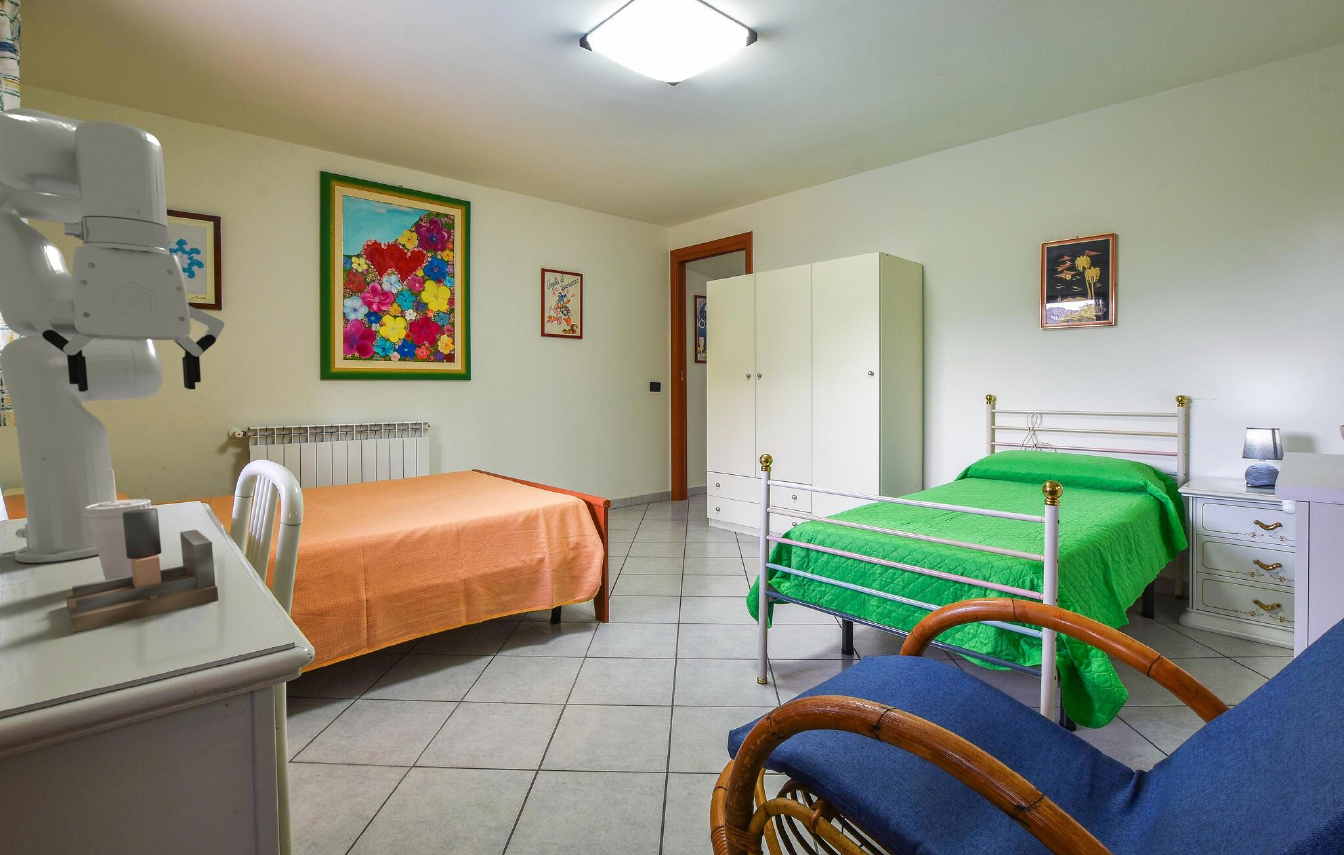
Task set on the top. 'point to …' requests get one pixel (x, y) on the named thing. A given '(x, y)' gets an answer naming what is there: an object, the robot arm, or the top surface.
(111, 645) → the top surface
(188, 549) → the vise base
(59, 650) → the top surface
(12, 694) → the top surface
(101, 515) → the smoothie
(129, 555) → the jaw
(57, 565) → the top surface
